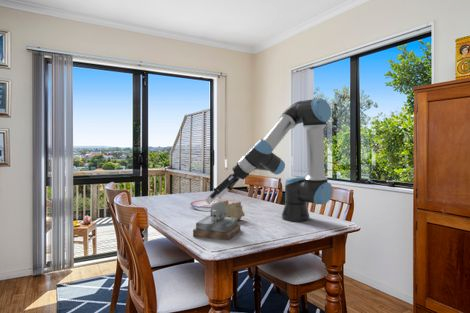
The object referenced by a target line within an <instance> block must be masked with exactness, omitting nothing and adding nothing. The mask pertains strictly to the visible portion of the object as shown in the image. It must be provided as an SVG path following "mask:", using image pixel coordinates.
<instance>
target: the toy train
mask: <svg viewBox="0 0 470 313" xmlns="http://www.w3.org/2000/svg"><path fill="white" fill-rule="evenodd" d="M215 201H222V202H223V203H224V204H225V205H226V212H227V215H226V216H225V217H231V218H238V221H239V220H241V219H242V218H243V217H245V215H246V214H245V212H244V211H243V205H242V201H240V200H239V201H238V200H237V201H235V202H230V203H229V200H228V199H216V200H213V203H214V202H215Z"/></svg>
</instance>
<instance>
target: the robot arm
mask: <svg viewBox="0 0 470 313" xmlns="http://www.w3.org/2000/svg"><path fill="white" fill-rule="evenodd" d="M331 117H332V108H331V106H330V104H329V102H328V101H327V100H326V99H323V98H314V99H313V98H312V99H307V100H299V101H297V102H294V103H292V104H291V105H290V106H289V107H287V108H286V109H285V110H284V111H283V113H282V114H281V115H280V116H279V118H278V119H279V120H277V122H276V123H275V124H274V125H273V127H272V128H271V130H269V132H268V133H267V134H266V135H265V136H264V138H261V139H259V140H258V141H256V143H254V145H253V146H252V147H251V148H250V149H249V150H248V151H247V152H246V153H245V154H244V155H243V156H242V157H241V158H240V160H238V162H236V163H235V165H234V166H233V167H232V171H233V173H230V174H229V176H227V178H225V179H224V180H223V181H222V182H221V183H220V184H218V185H217V186H216V187H213V191H211V193H210V194H209V195H208V196H207V197H206V198H205V199H204V201H205V202H206V203H207V205H211V204H212V203H213V202H214V201H215V199H216V198H218V200H220V199H221V198H223V196H224V195H225V194H226V193H228V192H229V191H232V190H233V188H234V186H235V185H236V184H237V183H238V182H239V180H245V179H246V178H248V176H249V175H250V174H251V173H253V172H255V171H258V170H259V171H265V172H267V171H268V172H270V173H272V174H274V175H280V174H282V172H284V170H285V167H286V164H285V161H284V160H282V158H280V156H277V155H276V154H275V153H274V152H273V151H274V150H275V148H277V147H278V145H279V144H280V143H281V141H282V140H283V139H284V138H285V137H286V135H287V134H288V133H289V131H291V129H294V128H295V127H296V126H298V125H299V124H302V126H303V128H304V129H305V131H306V132H305V134H306V137H305V138H306V139H305V140H306V166H307V167H306V170H307V171H306V174H307V175H306V176H303V177H292V178H290V177H289V178H286V179H285V182H284V184H285V185H284V187H285V188H284V194H285V195H284V196H285V197H284V199H285V200H284V207H283V210H282V213H281V219H282V220H285V221H288V222H295V223H296V222H297V223H298V222H299V223H300V222H307V221H310V213H309V209H308V206H307V203H310V204H315V205H325V204H328V203H329V201H330V200H331V198H332V196H333V191H334V190H333V185H332V184H331V183H330V182H328V181H329V180H328V177H327V176H326V174H325V148H324V146H325V144H324V143H325V141H324V138H325V137H324V128H326V127H327V122H328V121H329V120H330V119H331ZM221 200H222V199H221Z"/></svg>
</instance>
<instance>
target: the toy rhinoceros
mask: <svg viewBox="0 0 470 313" xmlns="http://www.w3.org/2000/svg"><path fill="white" fill-rule="evenodd" d="M214 201H215V202H214ZM214 201H213V202H212V203H211V204H210V210H209V212H210V215H209V216H211V221H212V222H216V221H217V218H218V217H219V218H220V220H223V219H225V216H226V215H227V212H226V205H225V204H224V203H223V202H222V201H216V200H214Z"/></svg>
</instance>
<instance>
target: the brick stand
mask: <svg viewBox="0 0 470 313" xmlns="http://www.w3.org/2000/svg"><path fill="white" fill-rule="evenodd" d="M240 231H241V223H239V220H238V218H231V217H225V219H223V220H220V218H219V217H218V218H217V221H216V222H212V221H211V216H210V215H208V216H205V218H202V219H201V220H198V221H196V222H195V228H193V229H192V236H193V237H194V238H206V239H212V240H213V239H215V240H224V241H231V239H232V238H233V237H234V236H235V235H236V234H238V233H239V232H240Z"/></svg>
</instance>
